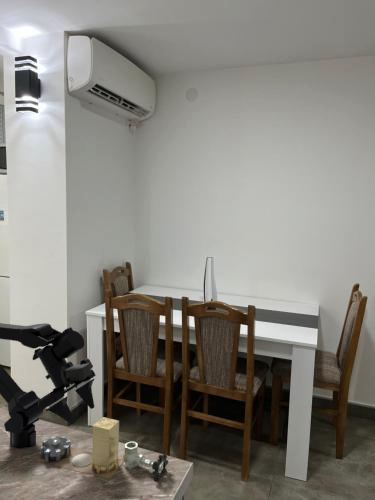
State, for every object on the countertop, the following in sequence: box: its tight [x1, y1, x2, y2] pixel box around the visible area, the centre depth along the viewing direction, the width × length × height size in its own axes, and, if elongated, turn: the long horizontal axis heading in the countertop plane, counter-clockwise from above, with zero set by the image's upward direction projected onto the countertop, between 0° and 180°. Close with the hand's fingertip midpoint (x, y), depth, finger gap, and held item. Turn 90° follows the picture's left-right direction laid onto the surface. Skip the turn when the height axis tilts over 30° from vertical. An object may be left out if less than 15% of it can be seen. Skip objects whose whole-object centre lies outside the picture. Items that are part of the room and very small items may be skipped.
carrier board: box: [32, 447, 124, 480], centre depth 107 cm, size 24×9×1 cm, turn 73°
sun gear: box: [39, 436, 72, 464], centre depth 109 cm, size 8×8×4 cm
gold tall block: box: [91, 416, 120, 474], centre depth 105 cm, size 7×7×12 cm
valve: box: [123, 441, 169, 482], centre depth 104 cm, size 7×7×12 cm
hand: (83, 415), depth 107 cm, fingers open, 9 cm apart
